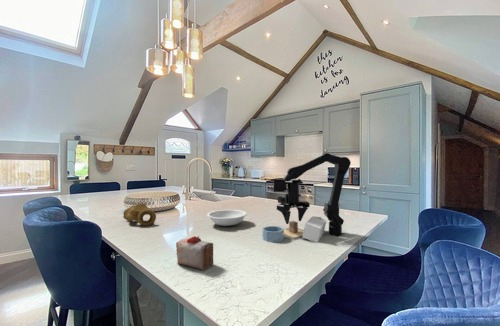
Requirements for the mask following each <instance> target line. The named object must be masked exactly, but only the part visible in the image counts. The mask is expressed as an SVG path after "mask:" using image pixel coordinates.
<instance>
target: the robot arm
mask: <svg viewBox="0 0 500 326" xmlns="http://www.w3.org/2000/svg"><path fill="white" fill-rule="evenodd" d="M326 162H327V163H329V164H331V165H334V178H333V183H332V187H331V192H330V197H329V200H328V202H324V208H323V209H322V211H323V214H324V216H325V217H326V218H327V220H328V221H329V222H328V232H326V234H327V235H331V236H334V237H340V236H344V235H345V233H343V224H344V222H345V220H344V219H343V218H342V217H341V216H340V205H339V202H340V198H341V193H342V188H343V184H344V180H345V176H346V174H347V172H348V171H349V169H350V167H351V159H349V157H347V156H342V157H341V156H337V155H333V154H331V153H327V152H326V153H323V154H321V155H320V156H318V157H316V158H314V159H312V160H309V161H307V162H305V163H303V164H299V165H296V166H292V167H290V168H288V170H287V172H286V175H285V176H284V177H283V178H282V179H281V178H274V179H273V184H272V186H273V187H272V188H273V189H272V190H273V191H272V192H273V193H285V192H286V191H287V193H286V194H285V196H284V197H283V196H282V195H281V196H278V197H277V202H278V204H276V211H278V212H279V213H281V214H282V216H283V218H284V222H285V223H286V225H289V222H290V218H291V209H293V208H296V210H297V216H298V219H297V220H298V222H301V221H302V219H303V217H304V215H305V213H306V212H307V210H308V209H309V208H310V205H311V204H310V202H309V201H307V200H300V197H301V196H302V195H301V193H300V184H303V183H304V182H303V181H302V179H301V178H300V177H301V176H302V175H303V174H305V173H306V172H307V171H310V170H312V169H314V168H316V167H318V166H320V165H322V164H324V163H326Z"/></svg>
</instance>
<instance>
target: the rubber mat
mask: <svg viewBox="0 0 500 326" xmlns="http://www.w3.org/2000/svg"><path fill="white" fill-rule="evenodd" d="M284 238H286V239H288V240H292V241H297V240H300V239H304V238H303V237H299V238H295V239H293V238H290V237H287V236H285V235H284Z"/></svg>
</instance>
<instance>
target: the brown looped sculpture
mask: <svg viewBox="0 0 500 326" xmlns="http://www.w3.org/2000/svg"><path fill="white" fill-rule="evenodd" d="M122 214H123V219H124V220H126V221H127V222H128V223H129V222H130V223H131V222H133V221H135V222H138V224H140V225H141V226H143V227H148V226H151V225H154V223H155V222H156V220H157V219H156V218H157V214H156V212H155V211H154V210H153V209H150V208H148V206H147V204H146V203H144V202H143V203H138V204H135V205H131V206H130V207H128V208H126V209H125V210H124V211H123V213H122ZM146 215H149V219H148V220H144V216H146Z"/></svg>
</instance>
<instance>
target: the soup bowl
mask: <svg viewBox="0 0 500 326" xmlns="http://www.w3.org/2000/svg"><path fill="white" fill-rule="evenodd" d="M247 215H248V212H247V211H245V210H240V209H220V210H219V209H218V210H214V211H210V212H208V213H206V216H207V218H209V219H210V220H211V221H212V223H213V224H215V225H219V226H223V227H227V226H228V227H229V226H230V227H231V226H235V225H238V224H240V223H241V222H242V221H243V220H244V218H245V217H247Z"/></svg>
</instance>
